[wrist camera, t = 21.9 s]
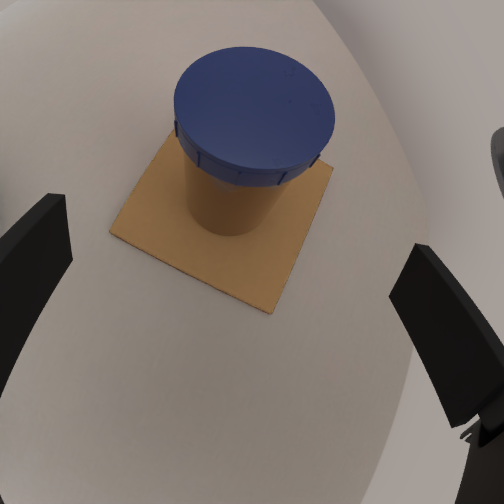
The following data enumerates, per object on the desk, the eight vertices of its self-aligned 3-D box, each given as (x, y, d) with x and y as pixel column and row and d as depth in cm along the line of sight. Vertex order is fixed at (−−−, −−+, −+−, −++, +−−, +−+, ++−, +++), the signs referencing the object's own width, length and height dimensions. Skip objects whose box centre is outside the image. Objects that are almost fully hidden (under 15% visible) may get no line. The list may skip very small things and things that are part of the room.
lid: (337, 107, 16) (351, 88, 14) (290, 216, 14) (303, 201, 12) (220, 53, 15) (223, 30, 13) (145, 146, 13) (140, 124, 12)
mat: (331, 170, 27) (333, 167, 27) (270, 314, 24) (271, 314, 23) (194, 104, 26) (195, 100, 26) (110, 233, 23) (108, 231, 22)
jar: (283, 180, 26) (340, 94, 14) (249, 251, 24) (295, 195, 13) (211, 144, 25) (225, 41, 14) (170, 212, 23) (152, 127, 12)
